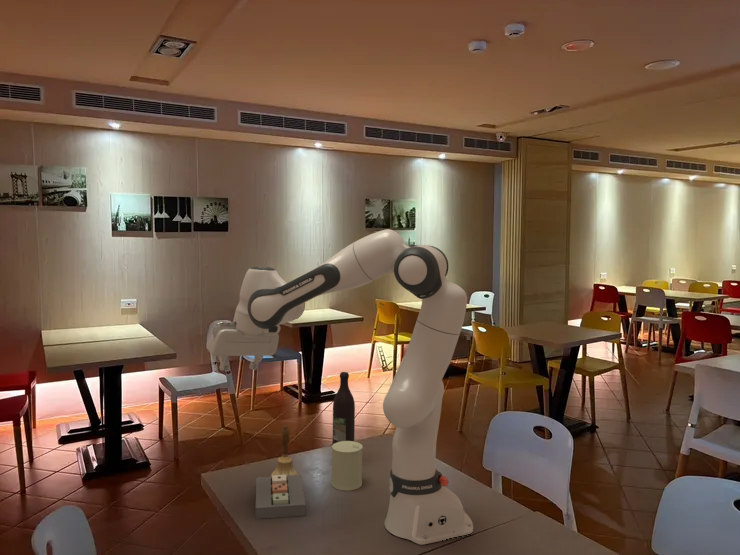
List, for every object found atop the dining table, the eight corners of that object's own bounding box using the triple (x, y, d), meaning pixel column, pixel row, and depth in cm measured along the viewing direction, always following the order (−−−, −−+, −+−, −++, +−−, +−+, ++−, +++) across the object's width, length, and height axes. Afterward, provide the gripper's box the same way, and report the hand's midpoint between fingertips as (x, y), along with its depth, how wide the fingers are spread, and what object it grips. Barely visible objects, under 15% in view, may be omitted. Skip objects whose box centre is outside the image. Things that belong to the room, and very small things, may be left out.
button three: (286, 491, 160) (286, 482, 160) (287, 497, 156) (287, 488, 156) (272, 492, 159) (272, 483, 159) (272, 498, 155) (272, 489, 155)
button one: (285, 482, 166) (285, 473, 165) (286, 488, 162) (286, 479, 162) (272, 483, 165) (272, 474, 165) (272, 489, 161) (272, 480, 161)
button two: (287, 501, 154) (287, 492, 154) (288, 508, 150) (288, 498, 150) (272, 502, 153) (272, 493, 153) (273, 509, 149) (273, 499, 149)
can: (358, 492, 164) (359, 451, 163) (327, 488, 165) (328, 448, 165) (365, 479, 173) (365, 440, 172) (335, 476, 174) (336, 438, 174)
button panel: (301, 484, 168) (301, 474, 168) (305, 515, 149) (305, 504, 149) (256, 487, 166) (256, 477, 165) (255, 519, 147) (255, 508, 147)
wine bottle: (330, 460, 187) (331, 370, 184) (351, 458, 188) (352, 369, 186) (334, 469, 180) (335, 375, 178) (356, 467, 181) (357, 374, 179)
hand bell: (303, 474, 175) (304, 424, 174) (286, 484, 168) (286, 431, 167) (283, 468, 180) (283, 419, 178) (265, 477, 173) (265, 426, 171)
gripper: (221, 325, 146) (209, 375, 148) (285, 327, 161) (274, 372, 163) (210, 317, 151) (198, 365, 153) (273, 320, 165) (262, 364, 167)
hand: (238, 369), depth 158 cm, fingers open, 8 cm apart
